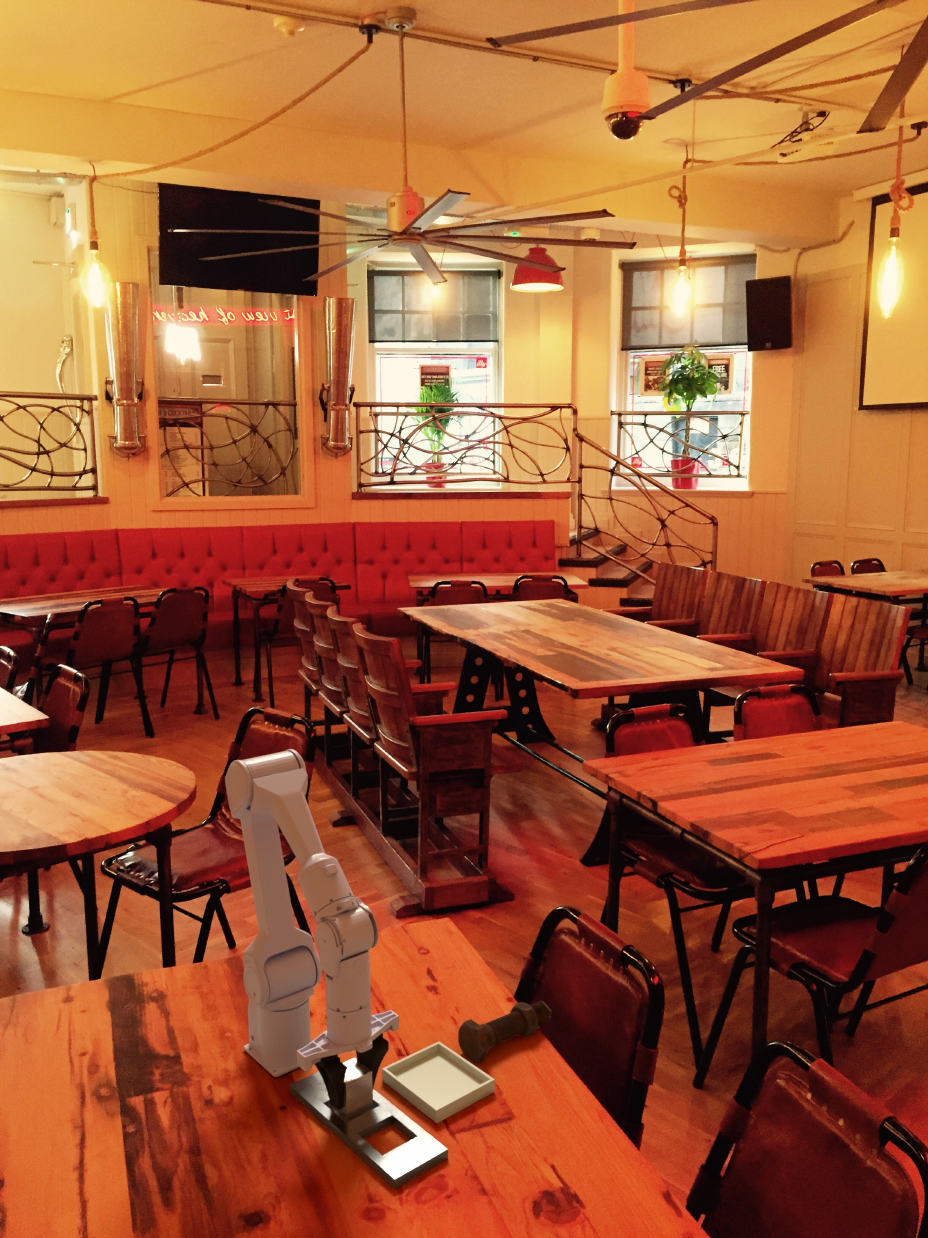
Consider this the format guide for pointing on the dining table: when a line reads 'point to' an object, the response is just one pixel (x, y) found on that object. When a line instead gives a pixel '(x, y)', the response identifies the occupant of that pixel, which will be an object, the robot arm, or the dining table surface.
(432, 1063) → the tray
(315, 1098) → the metal plate with holes
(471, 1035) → the bolt
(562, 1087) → the dining table surface
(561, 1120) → the dining table surface
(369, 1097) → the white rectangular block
